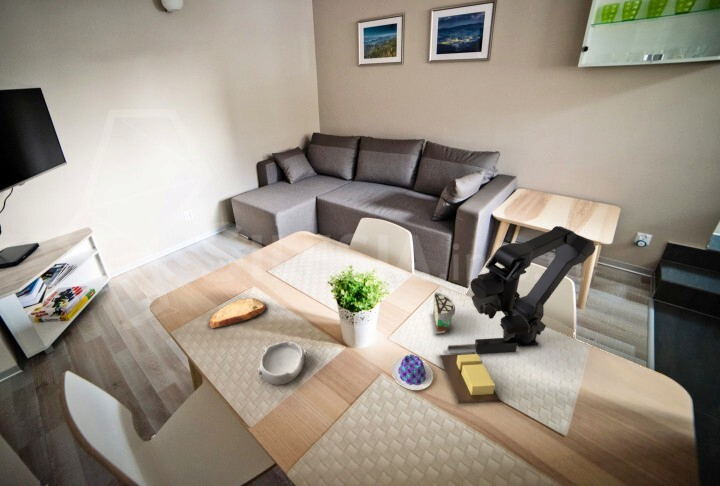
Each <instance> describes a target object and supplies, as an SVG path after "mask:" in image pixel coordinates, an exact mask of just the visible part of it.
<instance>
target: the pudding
mask: <svg viewBox="0 0 720 486" xmlns="http://www.w3.org/2000/svg"><path fill="white" fill-rule="evenodd" d="M391 374H392V377H393V379H394V380H395V382H397V384H398V385H400V386H401V387H403V388H405V389H407V390H410V391H411V390H412V391H421V390H424V389H426V388H428V387H429V386H431V384H432V382H433V381H434V380H433V379H434V373H433V370H432V368H431V366H430V365H429V364H428V363H427V362H426V361H425V360H423V359H421V358H420V357H419V356H418V355H414V354H408V355H405V356H402V357H399V358H397V359H396V360H395V361H394V362H393V363H392V366H391Z"/></svg>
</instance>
